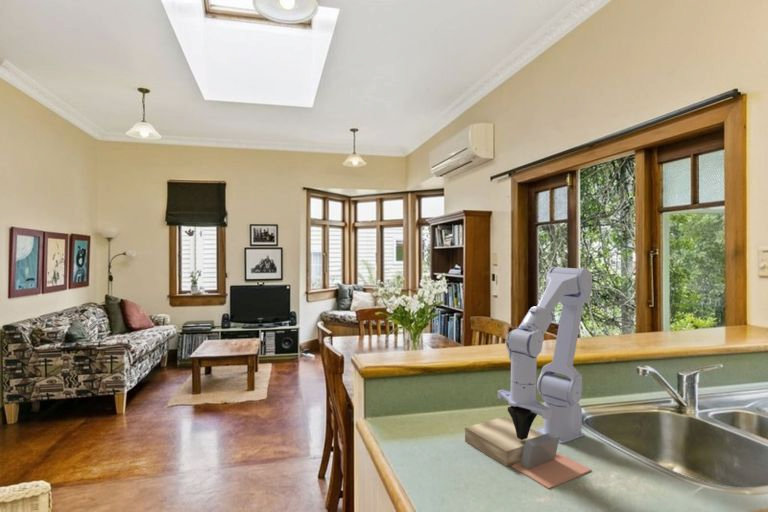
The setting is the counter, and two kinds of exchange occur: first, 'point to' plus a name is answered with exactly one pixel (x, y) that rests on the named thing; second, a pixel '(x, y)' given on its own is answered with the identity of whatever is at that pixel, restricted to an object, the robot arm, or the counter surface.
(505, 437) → the birch deck
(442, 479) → the counter surface
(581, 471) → the terracotta mat
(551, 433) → the slate tile
